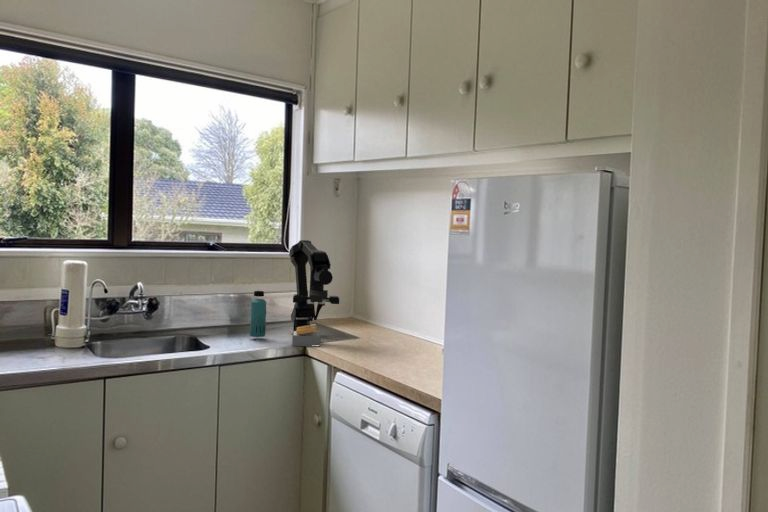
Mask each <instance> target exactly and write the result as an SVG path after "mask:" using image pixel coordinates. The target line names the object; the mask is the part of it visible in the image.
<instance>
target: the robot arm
mask: <svg viewBox="0 0 768 512" xmlns="http://www.w3.org/2000/svg"><path fill="white" fill-rule="evenodd" d="M288 253H289V257H290V263H291V264H292V265H293V266H294V269H295V270H294V272H295V283H296V294H293V296H292V302H293V310H292V312H291V314H290V320H291V321H293V329H292V330H293V331H296V330H297V327H302V326H307V325H311V323H310V322H313V321H317V319H318V316H319V313H320V311H321V309H322V307H323V306H326V303H330V304H331V305H339V304H340V297H339V296H338V295H329V293H328V290H327V289H325V286H326V285H330V284H331V283H332V281H333V278H334V277H333V274H332V273H331V271H330V270H331V266H332V264H331V261H330V258H329V255H328V254H327V252H326V251H323V250H319V249H318V248H316V246H315V245H314V244H312V241H311V240H309V239H308V240H306V239H305V240H303V239H301V240H298V242H297V243H295V244H294V245H292V246H291V247H290V249H289V252H288ZM307 264H309V267H310V268H309V270H310V271H309V272H310V274H309V276H310V277H309V291H308V281H307V280H308V278H307V277H308V276H307V266H306V265H307ZM324 289H325V290H324ZM308 293H309V294H308ZM328 295H329V297H328ZM315 303H316V304H317V305H316V307H315ZM315 308H316V310H315ZM293 331H292V333H291V335H292V336H293Z"/></svg>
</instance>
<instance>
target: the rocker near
mask: <svg viewBox="0 0 768 512" xmlns="http://www.w3.org/2000/svg"><path fill="white" fill-rule="evenodd" d="M316 326H317V325H316ZM316 326H314V327H309V328H303V329H298V330H296V332H297V335H299V334H305V333H310V332H318V326H317V327H316Z"/></svg>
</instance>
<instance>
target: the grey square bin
mask: <svg viewBox="0 0 768 512" xmlns="http://www.w3.org/2000/svg"><path fill="white" fill-rule="evenodd" d="M292 333H293V335H292V340H291V346H292V347H313V346H312V345H320V346H321V338H322V337H321V331H316V332H310V333H305V334H299V335H297V332H296V331H292Z"/></svg>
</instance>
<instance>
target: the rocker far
mask: <svg viewBox="0 0 768 512" xmlns="http://www.w3.org/2000/svg"><path fill="white" fill-rule="evenodd" d="M314 326H316V327H317V328H318V326H317V324H316V323H314V324H310V325H307V326H302V327H297V330H298V329H303V328H309V327H314Z"/></svg>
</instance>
